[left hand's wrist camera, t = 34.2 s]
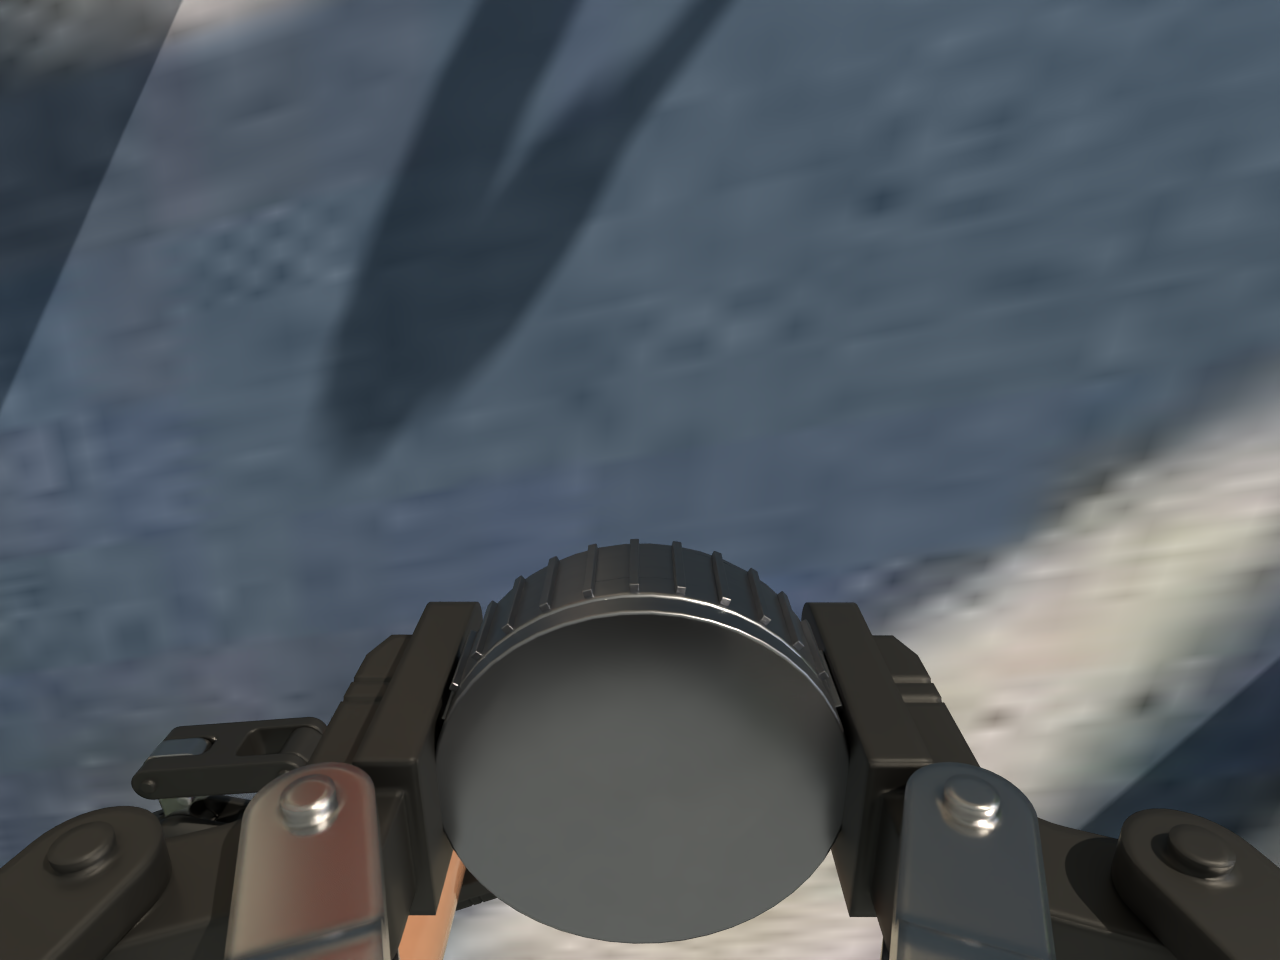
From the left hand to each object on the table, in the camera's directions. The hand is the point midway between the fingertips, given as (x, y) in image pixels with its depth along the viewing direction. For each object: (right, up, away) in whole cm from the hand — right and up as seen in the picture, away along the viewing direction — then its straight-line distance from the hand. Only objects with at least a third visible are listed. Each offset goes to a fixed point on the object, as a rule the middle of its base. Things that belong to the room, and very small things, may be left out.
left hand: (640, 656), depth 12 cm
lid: (0, -1, -2) cm, 3 cm away
